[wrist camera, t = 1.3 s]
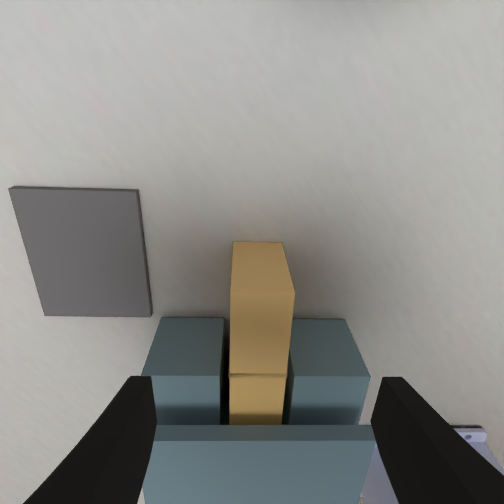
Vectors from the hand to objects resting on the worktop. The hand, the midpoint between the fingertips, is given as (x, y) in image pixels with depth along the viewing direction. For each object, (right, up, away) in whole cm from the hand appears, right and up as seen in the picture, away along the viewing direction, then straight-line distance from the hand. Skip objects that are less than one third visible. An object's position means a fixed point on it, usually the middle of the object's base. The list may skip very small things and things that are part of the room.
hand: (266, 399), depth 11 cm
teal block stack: (0, -3, +11) cm, 12 cm away
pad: (-9, +4, +7) cm, 13 cm away
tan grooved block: (0, +1, +9) cm, 9 cm away
